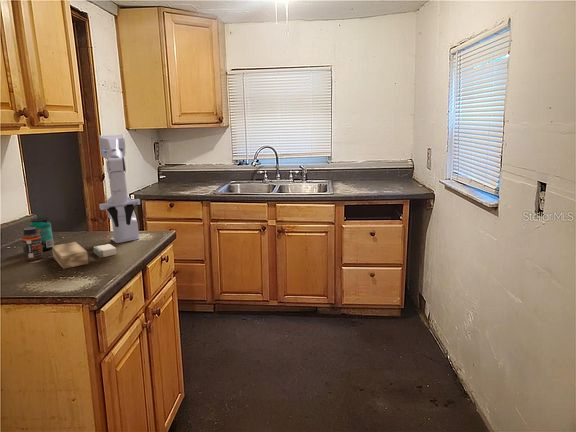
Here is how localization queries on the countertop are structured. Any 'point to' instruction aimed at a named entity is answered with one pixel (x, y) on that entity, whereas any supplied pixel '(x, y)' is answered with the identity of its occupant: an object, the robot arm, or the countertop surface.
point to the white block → (104, 250)
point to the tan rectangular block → (69, 255)
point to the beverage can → (44, 232)
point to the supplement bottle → (32, 244)
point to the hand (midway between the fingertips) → (122, 225)
